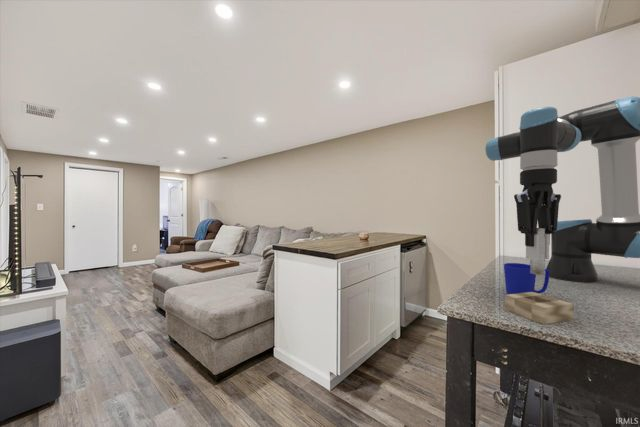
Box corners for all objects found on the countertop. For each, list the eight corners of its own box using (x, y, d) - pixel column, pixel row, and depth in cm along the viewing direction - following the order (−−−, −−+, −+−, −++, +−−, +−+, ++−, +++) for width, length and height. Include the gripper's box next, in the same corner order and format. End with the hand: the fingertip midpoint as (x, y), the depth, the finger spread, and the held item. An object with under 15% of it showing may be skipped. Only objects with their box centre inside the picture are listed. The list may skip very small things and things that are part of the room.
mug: (557, 303, 77) (557, 269, 77) (511, 300, 80) (511, 268, 79) (540, 294, 85) (540, 263, 85) (498, 292, 88) (499, 262, 87)
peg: (535, 271, 71) (536, 227, 71) (547, 274, 68) (548, 228, 68) (527, 272, 70) (527, 227, 70) (539, 275, 67) (539, 228, 67)
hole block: (532, 305, 75) (532, 291, 75) (573, 319, 66) (573, 303, 66) (504, 309, 73) (504, 294, 73) (543, 324, 63) (543, 307, 63)
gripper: (545, 172, 74) (544, 254, 75) (500, 170, 70) (500, 257, 71) (577, 168, 67) (576, 259, 67) (529, 166, 63) (528, 263, 63)
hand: (537, 258), depth 69 cm, fingers closed on peg, 3 cm apart
